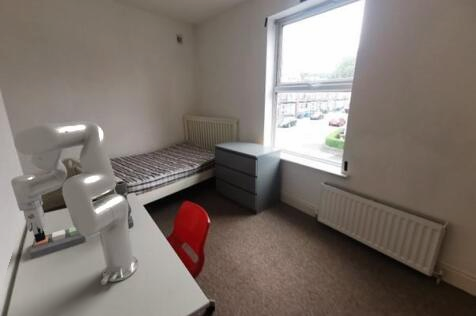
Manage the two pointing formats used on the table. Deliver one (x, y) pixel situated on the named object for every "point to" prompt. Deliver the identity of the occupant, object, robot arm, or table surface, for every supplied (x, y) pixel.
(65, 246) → the keypad
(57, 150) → the robot arm
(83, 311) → the table surface
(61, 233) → the cream key
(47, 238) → the terracotta key
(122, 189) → the candle holder
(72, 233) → the sage key
